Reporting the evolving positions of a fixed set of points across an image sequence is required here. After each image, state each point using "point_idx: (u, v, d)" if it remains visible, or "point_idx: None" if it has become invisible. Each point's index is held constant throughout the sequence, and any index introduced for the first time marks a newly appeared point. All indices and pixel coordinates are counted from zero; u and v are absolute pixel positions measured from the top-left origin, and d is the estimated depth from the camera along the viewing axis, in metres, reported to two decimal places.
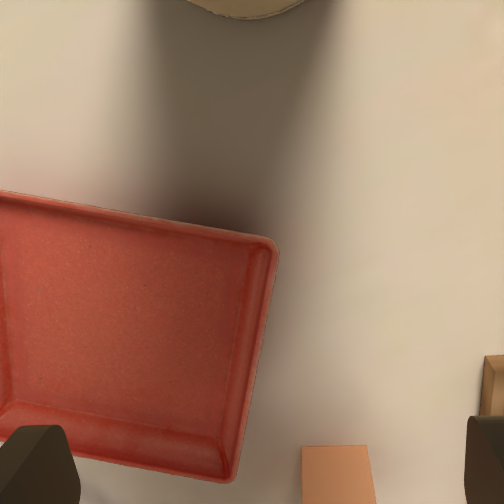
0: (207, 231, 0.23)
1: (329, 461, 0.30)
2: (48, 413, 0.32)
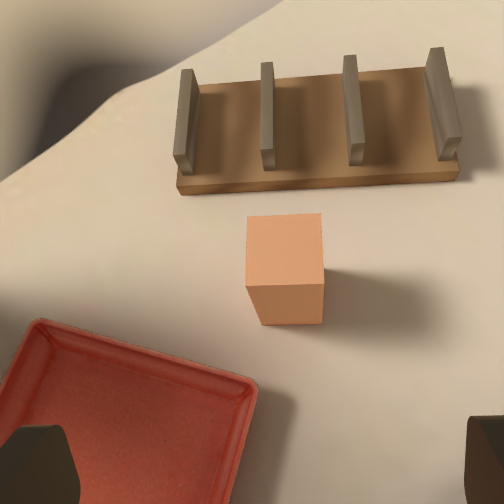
0: (12, 365, 0.32)
1: None
2: None
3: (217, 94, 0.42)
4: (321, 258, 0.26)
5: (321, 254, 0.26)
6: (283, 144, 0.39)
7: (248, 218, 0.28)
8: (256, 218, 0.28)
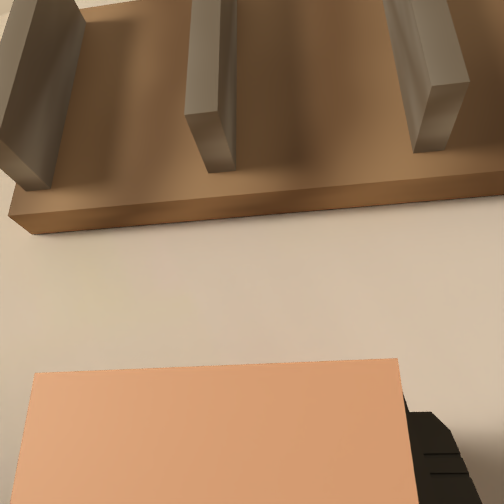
0: None
1: None
2: None
3: (119, 22, 0.20)
4: None
5: None
6: (255, 112, 0.17)
7: (40, 382, 0.06)
8: (75, 381, 0.06)
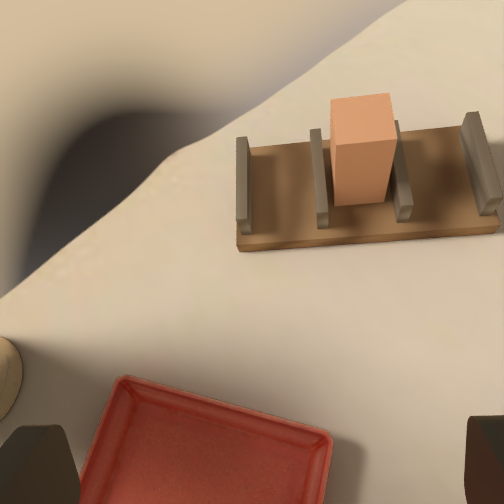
0: (102, 420, 0.36)
1: (332, 181, 0.41)
2: None
3: (267, 156, 0.45)
4: (393, 122, 0.34)
5: (393, 120, 0.34)
6: (333, 203, 0.42)
7: (332, 100, 0.36)
8: (338, 99, 0.36)
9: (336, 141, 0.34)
